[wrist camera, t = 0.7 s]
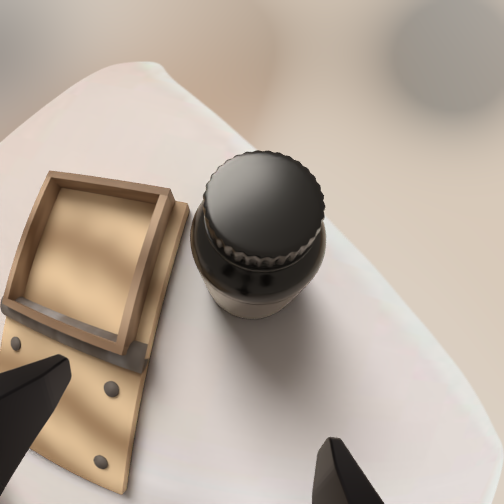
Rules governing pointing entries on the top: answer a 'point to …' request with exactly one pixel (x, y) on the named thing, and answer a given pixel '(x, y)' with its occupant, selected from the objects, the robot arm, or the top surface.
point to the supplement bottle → (259, 233)
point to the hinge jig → (92, 311)
